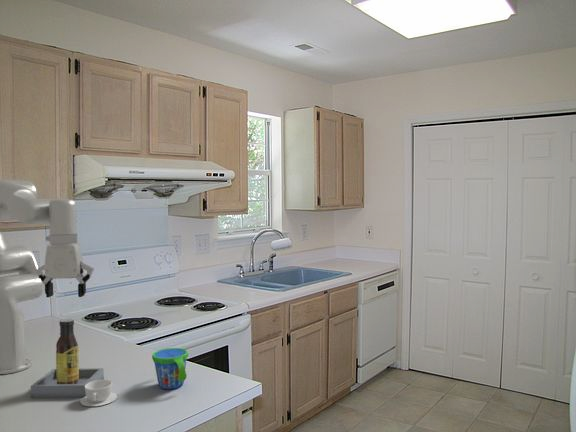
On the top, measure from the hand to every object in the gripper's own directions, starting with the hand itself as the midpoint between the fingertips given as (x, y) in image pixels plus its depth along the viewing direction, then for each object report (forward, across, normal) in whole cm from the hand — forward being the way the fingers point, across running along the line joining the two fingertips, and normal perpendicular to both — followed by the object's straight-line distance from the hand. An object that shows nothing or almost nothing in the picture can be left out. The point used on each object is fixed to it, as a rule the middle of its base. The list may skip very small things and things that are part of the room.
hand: (65, 296), depth 151 cm
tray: (+28, 0, 0) cm, 28 cm away
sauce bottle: (+28, 0, 0) cm, 28 cm away
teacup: (+29, +13, -9) cm, 33 cm away
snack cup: (+28, +31, +1) cm, 42 cm away
